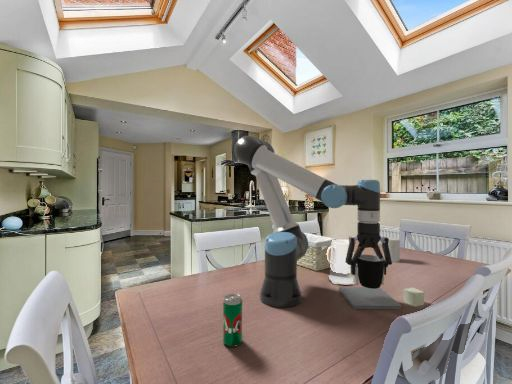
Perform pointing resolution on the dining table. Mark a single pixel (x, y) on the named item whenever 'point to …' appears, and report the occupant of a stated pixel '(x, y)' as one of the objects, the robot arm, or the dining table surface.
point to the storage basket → (316, 252)
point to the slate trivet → (368, 298)
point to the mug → (370, 271)
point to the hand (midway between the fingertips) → (368, 283)
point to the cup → (394, 249)
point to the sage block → (413, 296)
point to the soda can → (232, 319)
